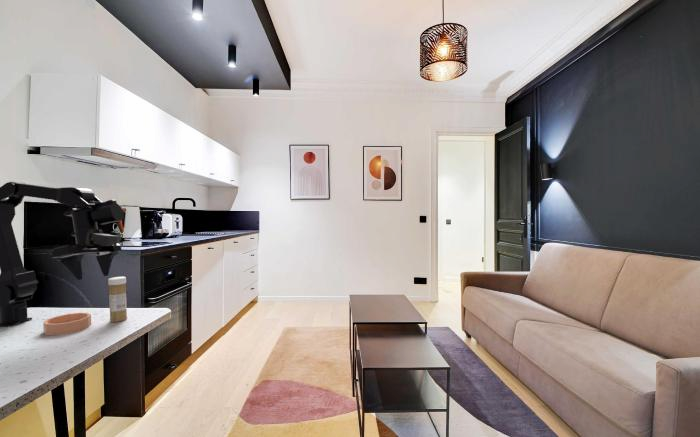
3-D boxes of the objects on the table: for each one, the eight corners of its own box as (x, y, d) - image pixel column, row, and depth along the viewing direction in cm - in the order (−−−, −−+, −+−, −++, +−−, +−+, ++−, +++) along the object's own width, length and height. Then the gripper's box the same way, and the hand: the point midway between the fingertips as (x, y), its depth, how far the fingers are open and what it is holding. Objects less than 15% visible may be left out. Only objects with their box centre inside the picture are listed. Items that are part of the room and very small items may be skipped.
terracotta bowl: (34, 334, 92) (33, 323, 92) (68, 321, 102) (68, 312, 102) (67, 335, 91) (67, 324, 91) (99, 322, 101) (98, 313, 101)
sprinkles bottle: (126, 316, 107) (125, 275, 106) (127, 320, 103) (126, 277, 103) (108, 319, 104) (107, 277, 103) (109, 323, 100) (108, 279, 100)
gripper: (82, 220, 91) (90, 276, 90) (132, 223, 110) (140, 269, 109) (46, 229, 92) (54, 284, 91) (102, 230, 111) (109, 276, 110)
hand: (93, 277), depth 100 cm, fingers open, 9 cm apart
